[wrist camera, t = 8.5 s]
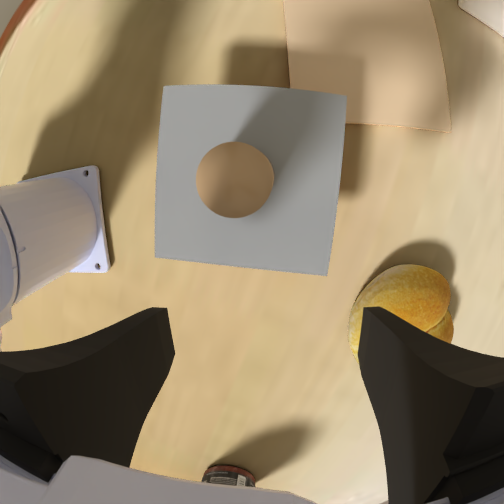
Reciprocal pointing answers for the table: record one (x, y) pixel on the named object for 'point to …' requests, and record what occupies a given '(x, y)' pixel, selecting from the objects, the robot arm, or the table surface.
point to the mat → (371, 59)
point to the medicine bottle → (486, 12)
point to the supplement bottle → (228, 476)
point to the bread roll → (406, 301)
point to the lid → (249, 176)
